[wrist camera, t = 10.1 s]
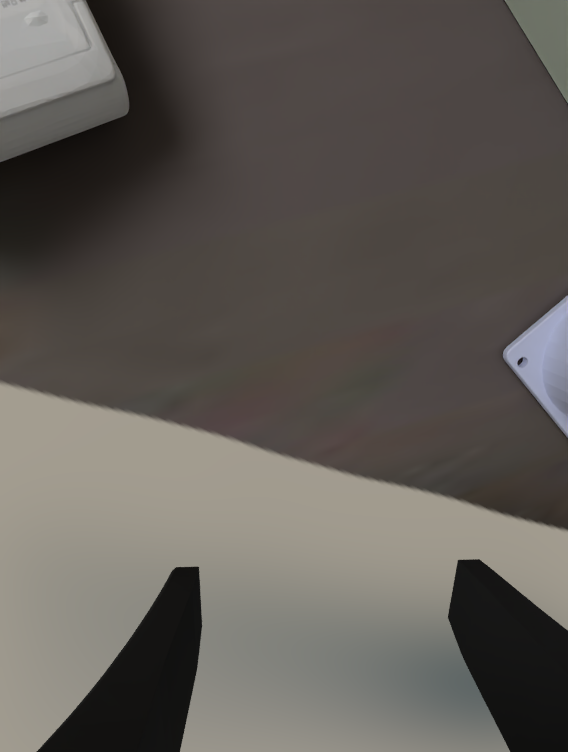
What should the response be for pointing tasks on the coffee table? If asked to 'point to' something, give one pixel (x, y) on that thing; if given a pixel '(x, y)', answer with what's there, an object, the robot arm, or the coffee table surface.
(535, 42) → the socket
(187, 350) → the coffee table surface
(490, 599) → the robot arm
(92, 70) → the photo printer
